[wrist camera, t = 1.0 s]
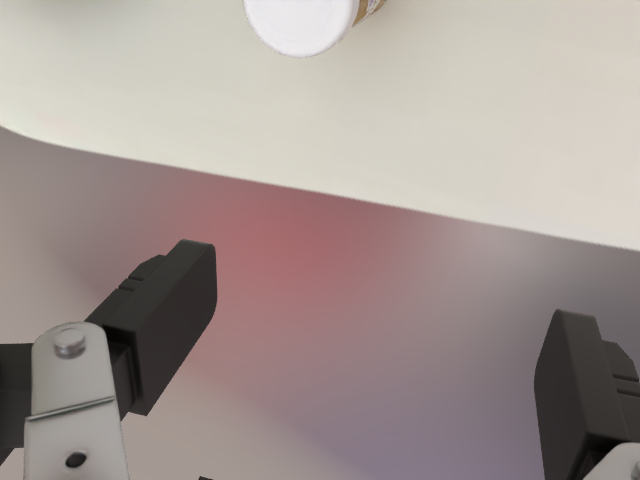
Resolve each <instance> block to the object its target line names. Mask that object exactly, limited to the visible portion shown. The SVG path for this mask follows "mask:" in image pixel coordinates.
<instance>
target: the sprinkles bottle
mask: <svg viewBox="0 0 640 480" xmlns="http://www.w3.org/2000/svg"><path fill="white" fill-rule="evenodd" d="M385 1H386V0H243V3H244V8H245V12H246V15H247V18H248V21H249V23H250V25H251V27H252V29H253V30H254V32H255V33H256V35H257V36H258V37H259V38H260V39H261V41H262V42H263V43H265V44H266V45H267V46H268V47H270V48H271V49H272V50H274V51H276V52H278V53H280V54H283V55H286V56H289V57H295V58H305V57H311V56H315V55H318V54H320V53H322V52H324V51H326V50H328V49H330V48H331V47H333V46H334V45H335V44H337V43H338V42H339V41H340V40H341V39H342V38H343V37H344V36H345V35H346V34H347V33H348V31H349V30H350V28H352V27H354V26H356V25H357V24H358V23H360V22H361V21H363V20H364V19H365V18H366V17H368V16H369V15H371V14H372V13H373V12H375V11H376V10H378V9H379V8H380V7H381V6H382V5H383V4H384V3H385Z"/></svg>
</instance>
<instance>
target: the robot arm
mask: <svg viewBox="0 0 640 480" xmlns="http://www.w3.org/2000/svg"><path fill="white" fill-rule="evenodd" d="M216 276H217V275H216V252H215V247H214V246H213V245H212V244H208V243H203V242H197V241H192V240H187V239H183V240H181V241H180V242H179V243H178V244H177V245H176V246H175V247H174V248H173V249H172V250H171V251H170V252H169V253H168V254H167V255H166V256H164V255H157V256H155V257H153V258H151V259H149V260H147V261H145V262H143V263H141V264H140V265H139V266H138V267H137V268H136V269H135V270H134V271H133V272H132V273H131V274H130V275H129V277H128V279H125V280H124V281H123V282H122V283H121V284H120V285H119V288H118V289H115V290H114V291H113V292H112V293H111V294H110V296H108V297H107V298H106V299H105V300H104V301H103V302H102V303H101V304H100V305H99V306H98V307H97V308H96V309H95V310H94V311H93V312H92V314H90V315H89V316H88V318H86V320H85V321H84V322H70V323H65V324H61V325H59V326H56V327H53V328H51V329H49V330H47V331H46V332H44V333H43V334H42V335H40V336H39V337H38V338H37V339H36V341H35V342H34V343H27V344H26V343H25V344H0V466H1V464H2V463H3V462H4V461H5V459H6V458H7V457H8V456H9V454H10V453H11V452H12V451H13V449H14V448H24V478H23V480H130V475H129V469H128V463H127V457H126V451H125V445H124V439H123V433H122V428H121V421H122V420H123V418H124V417H125V415H126V414H127V413H128V412H132V413H135V414H139V415H144V416H147V415H148V413H149V412H150V410H151V409H152V407H153V405H154V404H155V403H156V401H157V400H158V398H159V397H160V395H161V394H162V393H163V391H164V389H165V388H166V386H167V385H168V384H169V382H170V381H171V379H172V378H173V376H174V375H175V373H176V372H177V370H178V369H179V367H180V366H181V364H182V363H183V361H184V360H185V358H186V357H187V355H188V354H189V352H190V351H191V349H192V348H193V346H194V345H195V343H196V342H197V340H198V339H199V337H200V336H201V334H202V333H203V331H204V330H205V329H206V327H207V325H208V324H209V322H210V321H211V319H212V317H213V315H214V312H215V308H216V303H217V277H216ZM534 393H535V401H536V409H537V417H538V426H539V434H540V442H541V451H542V459H543V467H544V475H545V480H640V383H639V378H638V375H637V372H636V370H635V366H634V364H633V361H632V360H631V359H630V358H629V356H628V355H627V354H626V353H625V352H624V351H623V350H622V349H621V347H620V346H619V345H618V344H617V343H614V342H609V341H604V340H602V339H601V335H600V332H599V329H598V325H597V322H596V319H595V317H594V316H593V315H589V314H583V313H577V312H572V311H567V310H561V309H557V310H556V311H555V312H554V314H553V317H552V320H551V323H550V326H549V328H548V331H547V334H546V337H545V340H544V343H543V346H542V349H541V353H540V356H539V358H538V361H537V365H536V370H535V376H534ZM199 480H212V479H208V478H204V477H201V476H200V478H199Z"/></svg>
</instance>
